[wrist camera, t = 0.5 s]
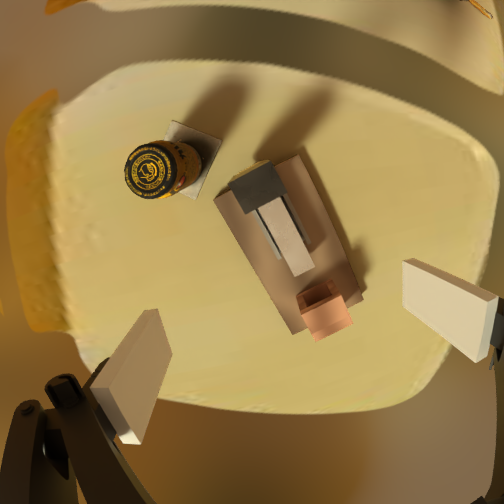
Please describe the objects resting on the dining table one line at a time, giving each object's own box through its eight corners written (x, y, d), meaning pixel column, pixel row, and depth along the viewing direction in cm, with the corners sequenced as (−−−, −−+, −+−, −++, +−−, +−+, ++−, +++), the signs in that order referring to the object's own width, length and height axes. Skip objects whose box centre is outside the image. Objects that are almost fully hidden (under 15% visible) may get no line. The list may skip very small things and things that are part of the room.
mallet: (264, 158, 32) (270, 160, 22) (314, 256, 37) (337, 295, 26) (234, 174, 33) (227, 183, 23) (287, 270, 37) (300, 313, 27)
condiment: (147, 179, 35) (106, 191, 24) (172, 120, 33) (137, 107, 22) (196, 199, 36) (171, 221, 25) (222, 140, 34) (208, 134, 23)
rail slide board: (296, 154, 34) (306, 155, 28) (360, 295, 41) (375, 317, 35) (214, 198, 36) (207, 207, 30) (291, 329, 43) (297, 356, 37)
